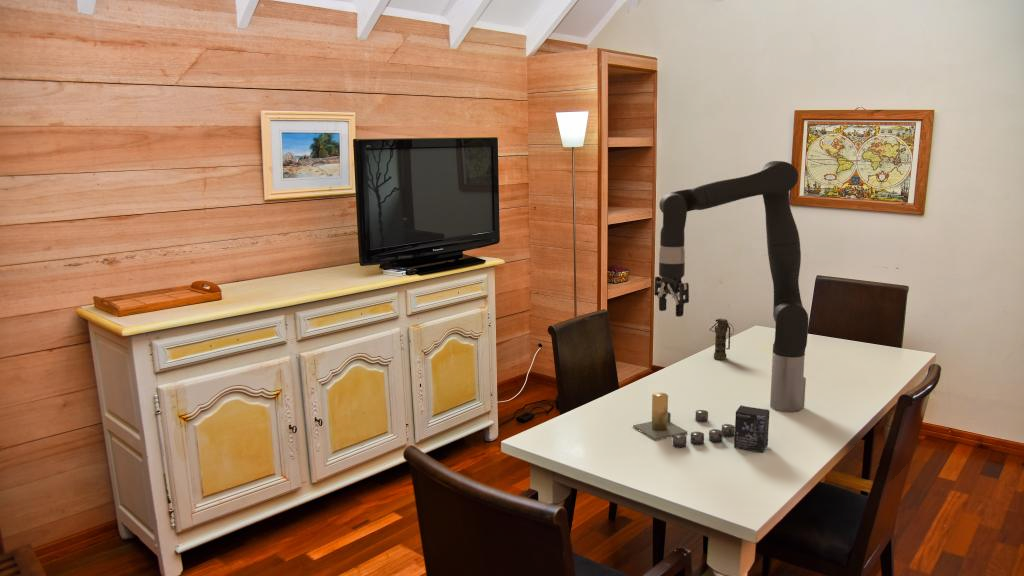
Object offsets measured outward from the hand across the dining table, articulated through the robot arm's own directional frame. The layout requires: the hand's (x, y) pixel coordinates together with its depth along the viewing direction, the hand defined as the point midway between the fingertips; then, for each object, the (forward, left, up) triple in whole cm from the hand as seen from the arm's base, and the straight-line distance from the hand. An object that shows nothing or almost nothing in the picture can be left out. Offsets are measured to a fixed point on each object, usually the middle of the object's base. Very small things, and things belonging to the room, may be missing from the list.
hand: (670, 313), depth 235 cm
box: (-2, +35, -30) cm, 46 cm away
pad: (+13, +14, -30) cm, 36 cm away
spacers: (+6, +18, -30) cm, 36 cm away
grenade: (-47, -33, -30) cm, 65 cm away
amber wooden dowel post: (+13, +14, -30) cm, 35 cm away
